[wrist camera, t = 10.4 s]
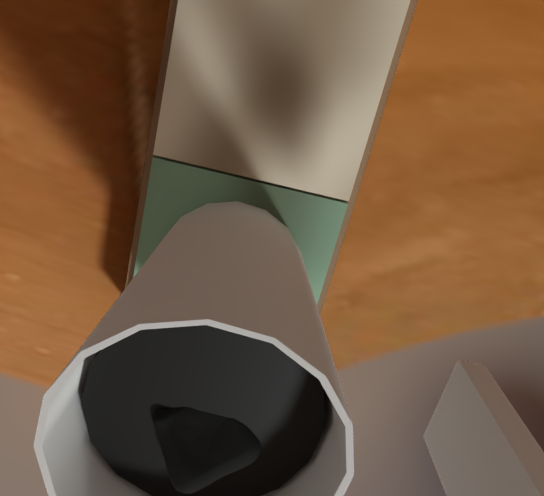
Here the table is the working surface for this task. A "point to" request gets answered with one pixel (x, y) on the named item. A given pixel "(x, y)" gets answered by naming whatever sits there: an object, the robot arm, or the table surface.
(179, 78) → the cream and green board
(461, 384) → the robot arm
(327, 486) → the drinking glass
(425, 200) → the table surface
